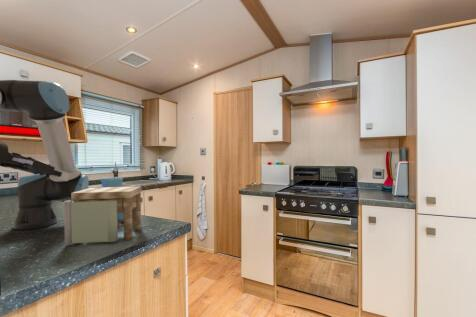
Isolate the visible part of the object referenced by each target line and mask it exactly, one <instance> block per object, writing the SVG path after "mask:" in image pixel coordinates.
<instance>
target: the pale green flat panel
mask: <svg viewBox="0 0 476 317" xmlns="http://www.w3.org/2000/svg"><path fill="white" fill-rule="evenodd" d="M63 215H64V216H63V217H64V219H63V220H64V222H63V223H64V225H63V226H64V227H63V228H64V246H72V245H73V244H82V243H83V244H85V243H86V244H87V243H88V244H89V243H104V242H105V243H106V242H107V243H114V242H117V241H119V240H118V238H119V237H118V234H119V233H118V221H117V200H112V201H90V202H73V200H63Z"/></svg>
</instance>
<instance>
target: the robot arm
mask: <svg viewBox="0 0 476 317" xmlns="http://www.w3.org/2000/svg"><path fill="white" fill-rule="evenodd" d="M69 110H70V99H69V96H68V94H67V91H66V90H65V88H63V86H61V85H60V84H59V83H56V82H53V81H52V82H50V81H45V80H21V79H20V80H19V79H0V111H7V112H8V111H9V112H15V113H16V112H18V113H27V115H28V117H29V119H30V120H31V121H33V122H36V126H37V128H38V131H39V135H40V138H41V141H42V145H43V147H44V150H45V154H46V156H47V160H48V162H49V164H48V163H45V162H42V161H39V160H37V159H34V158H33V157H31V156H27V157H26V156H22V155H21V153H17V152H12V153H11V152H9V146H8V144H6V143H5V142H2V141H0V167H2V168H9V169H13V170H19V171H22V172H26V173H31V174H32V175H30V174H29V175H24V176H20V177H18V180H17V187H16V188H17V193H18V194H17V198H18V199H17V200H18V202H17V203H18V210H17V214H16V215H15V218H14V220H13V229H14V230H19V231H21V230H32V229H39V228H44V227H49V226H51V225H54V224H57V222H58V216H57V213H56V211H55V209H54V207H53V202H59V201H63V202H64V201H70V200H71V193H73V192H77V191H81V190H85V189H88V188H89V182H90V180H89V176H88V175H86V174H82V172H81V171H82V170H81V169H79V168H78V167H76V164H75V160H74V156H73V153H72V149H71V145H70V141H69V137H68V134H67V130H66V127H65V123H64V119H65V117H66V116H67V113H68V112H69ZM71 201H72V200H71Z"/></svg>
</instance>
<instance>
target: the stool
mask: <svg viewBox="0 0 476 317" xmlns="http://www.w3.org/2000/svg"><path fill="white" fill-rule="evenodd" d="M142 191H143V190H142V185H141V186H137V185H136V186H122V187H102V186H101V187H88V189H85V190H81V191H77V192H73V193H71V201H72V202H90V201H112V200H117V213H123V219H122V221H123V223H124V225H123V240H124V241H131V240H133V239H134V238H133V235H134V234H133V231H134V232H136V231H137V232H138V231H141V230H142V203H141V202H142V195H141V193H142ZM132 209H133V224H132Z"/></svg>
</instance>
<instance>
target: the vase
mask: <svg viewBox="0 0 476 317" xmlns="http://www.w3.org/2000/svg"><path fill="white" fill-rule="evenodd" d="M99 180H100V183H101V185H102V186H101V187H123V186H122V185H123V180H124V178H122V177H112V178H110V177H109V178H100V179H99ZM119 221H123V213H117V222H119Z"/></svg>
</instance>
